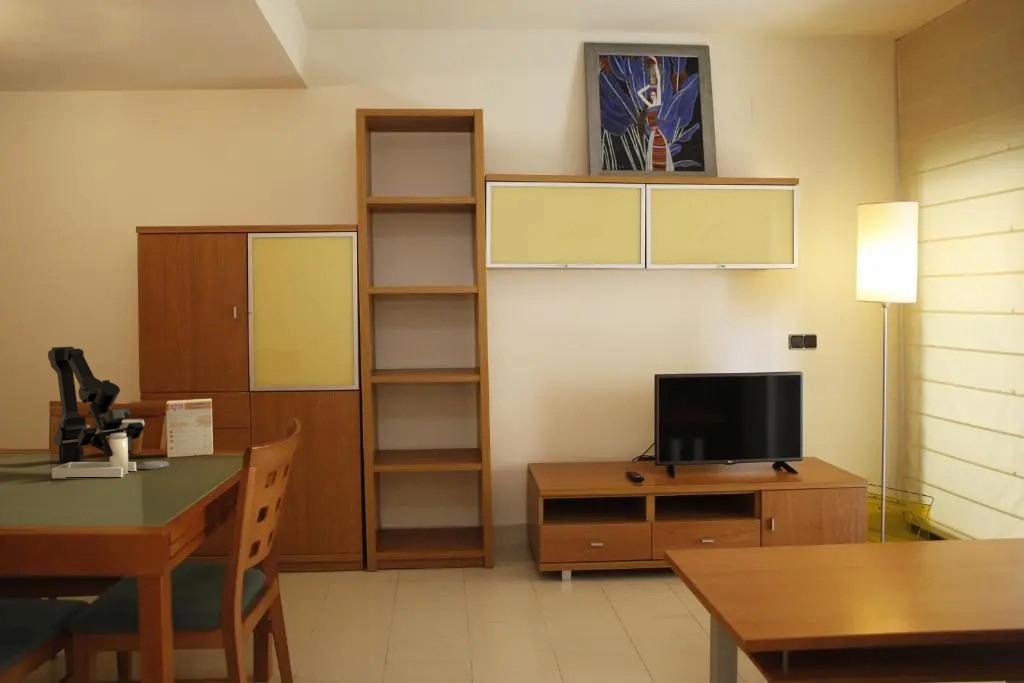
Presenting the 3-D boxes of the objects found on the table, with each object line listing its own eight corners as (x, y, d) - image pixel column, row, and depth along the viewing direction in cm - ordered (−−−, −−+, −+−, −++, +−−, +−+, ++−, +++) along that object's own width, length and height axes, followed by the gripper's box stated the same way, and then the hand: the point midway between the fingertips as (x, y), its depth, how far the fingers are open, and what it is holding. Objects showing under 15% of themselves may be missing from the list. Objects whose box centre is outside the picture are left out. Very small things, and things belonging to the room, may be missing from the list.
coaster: (129, 470, 257) (129, 466, 257) (143, 463, 267) (143, 461, 267) (160, 469, 257) (160, 466, 257) (173, 463, 267) (173, 460, 267)
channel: (52, 478, 245) (51, 468, 245) (69, 471, 255) (69, 462, 255) (121, 477, 245) (121, 468, 245) (136, 471, 255) (136, 461, 255)
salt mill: (106, 476, 248) (105, 434, 247) (115, 472, 253) (114, 432, 252) (123, 476, 248) (122, 434, 247) (131, 472, 253) (130, 432, 252)
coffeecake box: (213, 451, 290) (212, 398, 289) (212, 454, 283) (211, 400, 283) (168, 454, 285) (167, 400, 284) (167, 457, 278) (165, 402, 278)
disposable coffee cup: (137, 456, 281) (137, 422, 281) (111, 456, 281) (110, 422, 281) (150, 451, 291) (149, 418, 290) (124, 451, 291) (124, 418, 290)
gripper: (80, 402, 244) (98, 442, 238) (140, 397, 259) (158, 434, 253) (70, 425, 250) (86, 465, 243) (129, 419, 264) (146, 455, 258)
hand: (120, 454), depth 249 cm, fingers closed on salt mill, 5 cm apart
